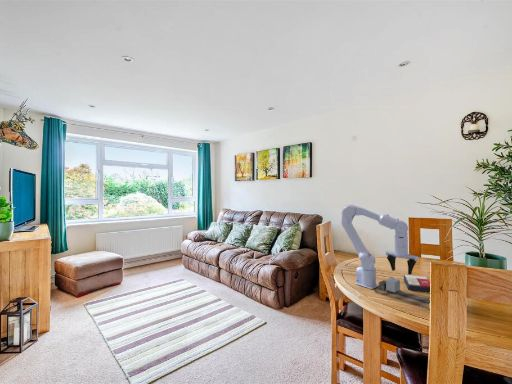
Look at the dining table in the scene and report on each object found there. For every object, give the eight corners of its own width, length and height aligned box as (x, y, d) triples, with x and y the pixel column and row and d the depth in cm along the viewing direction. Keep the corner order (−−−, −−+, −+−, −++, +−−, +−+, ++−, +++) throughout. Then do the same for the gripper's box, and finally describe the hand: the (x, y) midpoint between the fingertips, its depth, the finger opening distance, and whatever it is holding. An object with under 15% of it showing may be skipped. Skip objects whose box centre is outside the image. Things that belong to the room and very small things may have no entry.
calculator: (408, 283, 123) (403, 273, 137) (408, 292, 123) (403, 281, 137) (434, 286, 119) (426, 275, 132) (434, 295, 119) (426, 283, 132)
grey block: (386, 289, 118) (386, 279, 119) (391, 287, 122) (391, 277, 122) (394, 292, 115) (394, 282, 115) (400, 289, 119) (399, 279, 119)
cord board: (374, 292, 121) (374, 283, 121) (384, 287, 127) (384, 278, 127) (434, 311, 101) (434, 300, 101) (442, 304, 107) (442, 294, 107)
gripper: (382, 243, 126) (382, 270, 125) (414, 248, 114) (414, 277, 114) (389, 242, 130) (389, 267, 130) (420, 246, 118) (420, 274, 118)
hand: (401, 272), depth 122 cm, fingers open, 7 cm apart
